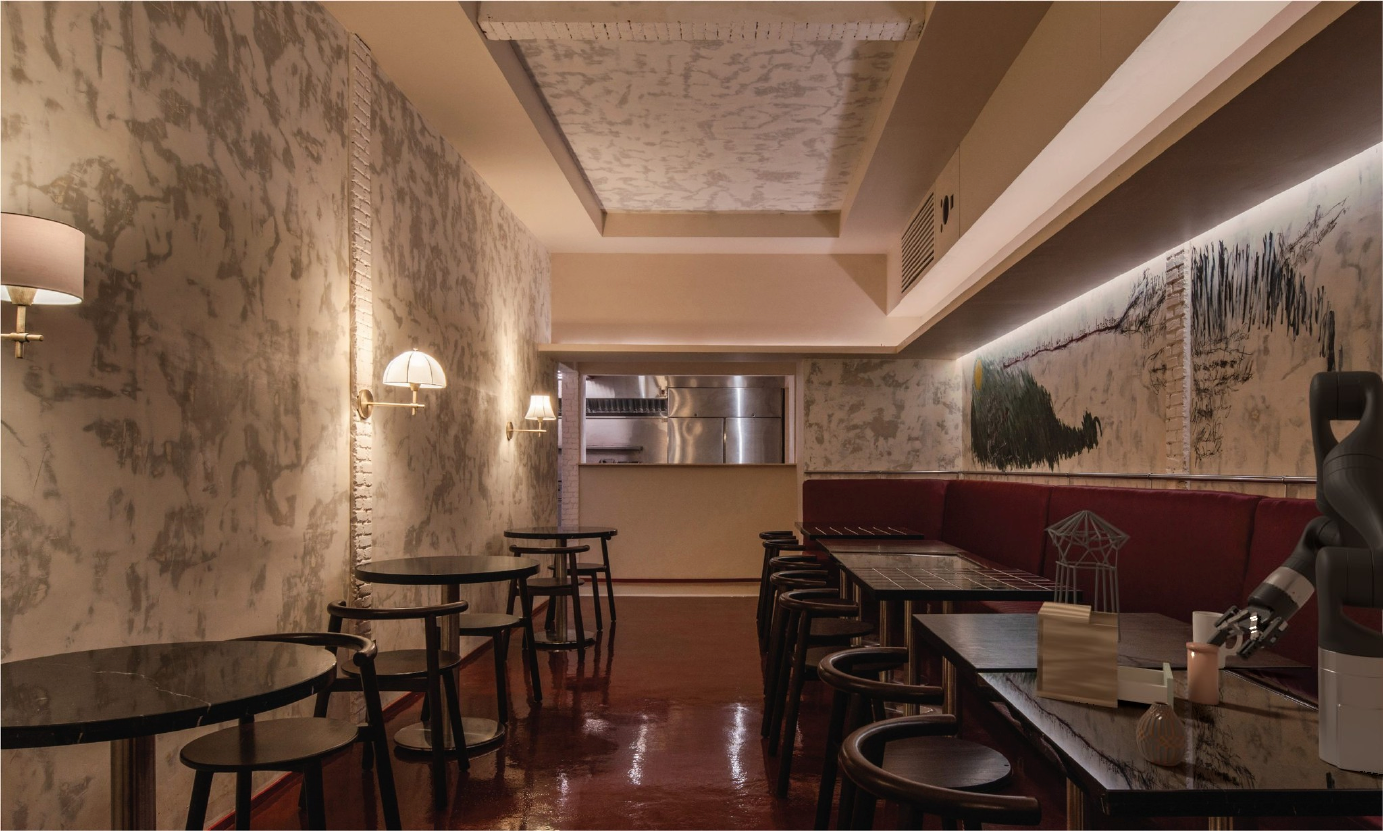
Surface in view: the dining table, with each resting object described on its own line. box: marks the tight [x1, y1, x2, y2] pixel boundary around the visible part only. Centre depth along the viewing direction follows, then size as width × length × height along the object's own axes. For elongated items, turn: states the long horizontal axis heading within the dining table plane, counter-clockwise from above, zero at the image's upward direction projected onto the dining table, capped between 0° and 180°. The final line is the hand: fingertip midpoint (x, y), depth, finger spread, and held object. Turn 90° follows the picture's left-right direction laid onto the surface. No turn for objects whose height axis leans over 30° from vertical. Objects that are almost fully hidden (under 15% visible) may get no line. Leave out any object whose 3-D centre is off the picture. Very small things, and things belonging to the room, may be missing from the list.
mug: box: [1192, 610, 1243, 669], centre depth 198 cm, size 10×7×12 cm, turn 68°
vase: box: [1135, 701, 1189, 767], centre depth 129 cm, size 7×7×9 cm
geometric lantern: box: [1043, 509, 1131, 644], centre depth 205 cm, size 16×16×35 cm
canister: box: [1185, 641, 1220, 706], centre depth 165 cm, size 6×6×11 cm
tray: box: [1117, 662, 1174, 710], centre depth 165 cm, size 15×13×6 cm
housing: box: [1036, 601, 1119, 709], centre depth 169 cm, size 18×14×16 cm
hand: (1225, 652), depth 166 cm, fingers open, 8 cm apart
